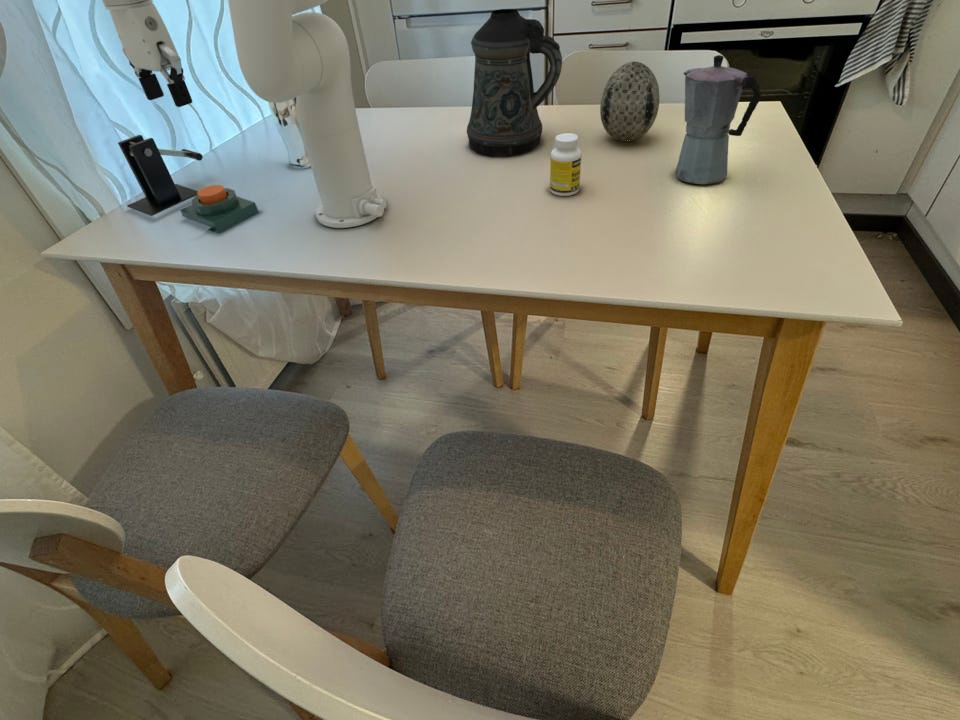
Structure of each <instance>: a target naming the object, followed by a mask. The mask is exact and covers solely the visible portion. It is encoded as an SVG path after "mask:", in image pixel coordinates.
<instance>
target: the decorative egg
mask: <svg viewBox="0 0 960 720" xmlns="http://www.w3.org/2000/svg"><path fill="white" fill-rule="evenodd" d="M660 99H661V97H660V88H659V83H658V80H657V78H656V76H655V74H654V73H653V71H652V70H651V68H650V67H648V65H646V64H645V63H643V62H639V61H629V62H626V63H624V64H622V65H621V66H619V67H618V68H616V70H615V71H613V73H612V74H611V76H610V77H609V79H608V80H607V82H606V84H605V87H604V89H603V92H602V95H601V100H600V107H599V109H600V110H599V113H600V120H601V124H602V127H603V129H604V130H605V132H606V133H607V135H609V136H610V137H611V138H613V139H614V140H616V141H619V142H623V143H629V142H633V141H636V140H638V139H640V138H642V137H644V136H645V135H646V134H647V133H648V132H649V131H650V129H651V128H652V126H653V125H654V123H655V121H656V119H657V116H658V114H659V108H660ZM627 140H628V141H627ZM629 140H630V141H629Z"/></svg>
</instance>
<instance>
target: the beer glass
mask: <svg viewBox="0 0 960 720" xmlns="http://www.w3.org/2000/svg"><path fill="white" fill-rule="evenodd" d="M267 103H268V107H269V110H270V114H271V117H272V121H273V123H274V125H275V127H276V130H277V132H278V134H279V135H280V138H281V140H282V142H283V144H284V146H285V148H286V152H287V157H288V164H289V165H292V166H295V167H299V168H303V169H309V168H311V165H310V161H309V158H308V154H307V151H306V147H305V144H304V141H303V137H302V134H301V130H300V126H299V122H298V118H297V110H296V98H293V99H291V100H288V101H285V102H281V103H271V102H267Z"/></svg>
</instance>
